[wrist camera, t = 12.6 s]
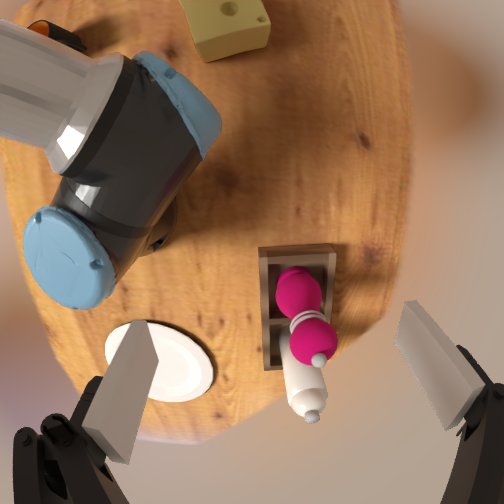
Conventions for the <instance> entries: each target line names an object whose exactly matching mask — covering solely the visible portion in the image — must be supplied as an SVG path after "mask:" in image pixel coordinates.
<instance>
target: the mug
mask: <svg viewBox="0 0 504 504" xmlns="http://www.w3.org/2000/svg"><path fill="white" fill-rule="evenodd" d="M27 29H30V30H32V31H34V32H37V33H39V34H42V35H44V36H46V37H48V38H51V39H53V40H55V41H57V42H59V43H62V44H64V45H66V46H68V47H70V48H72V49H74V50H76V51H78V52H85V51H86V50H87V48H86V47H85V46H84V45H82V44H81V40H80V38H79V37H78V36H77V35H75V34H73V33H71V32H69V31H67V30H65V29H63V28H61V27H59V26H57V25H55V24H52V23H50V22H48V21H46V20H39V21H36V22H34V23H33V24H31V25H30V26H29V27H28V28H27Z"/></svg>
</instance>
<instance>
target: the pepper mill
mask: <svg viewBox="0 0 504 504" xmlns="http://www.w3.org/2000/svg"><path fill="white" fill-rule="evenodd" d="M276 288H277V290H276V302H277V305H278V307H279V309H280V310H281V311H282V313H283V314H284V315H286V316H287V317H288V318H290V319H291V321H292V322H291V324H290V332H291V337H290V341H289V344H290V350H291V352H292V355H293V356H294V357H295V358H296V360H298V361H299V362H300V363H303V364H305V365H311V366H312V365H313V366H315V367H317V368H321V367H323V366H324V365H325V364H326V362H327V360H329V359H330V358H331V357H332V356H333V355H334V353H335V351H336V349H337V343H338V339H337V334H336V332H335V330H334V328H333V327H332V326H331V325H330V324H329V323H327V321H326V318H325V316H324V315H323V314H322V313H320V312H319V308H320V305H321V300H322V293H321V289H320V286H319V284H318V282H317V281H316V280H315V279H314V278H313V277H312V276H311V274H310V273H309V271H308V270H306V269H305V268H302V267H298V266H294V267H289V268H287V269H285V270H284V271H282V272H281V273H280V274H279V276H278V278H277V281H276Z"/></svg>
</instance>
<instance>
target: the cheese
mask: <svg viewBox="0 0 504 504" xmlns="http://www.w3.org/2000/svg"><path fill="white" fill-rule="evenodd" d="M179 2H180V4H181V5H182V7H183V9H184V12H185V15H186V19H187V22H188V25H189V28H190V31H191V34H192V38H193V41H194V44H195V46H196V49H197V51H198V53H199V55H200V57H201V59H202V60H203V62H204V63H207V62H211V61H214V60H218V59H221V58H224V57H227V56H230V55H233V54H237V53H240V52H245V51H249V50H254V49H259V48H264V47H266V45H267V43H268V38H269V34H270V30H271V22H270V19H269V17H268V14H267V12H266V10H265V8H264V5H263V3H262V1H261V0H179Z"/></svg>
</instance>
